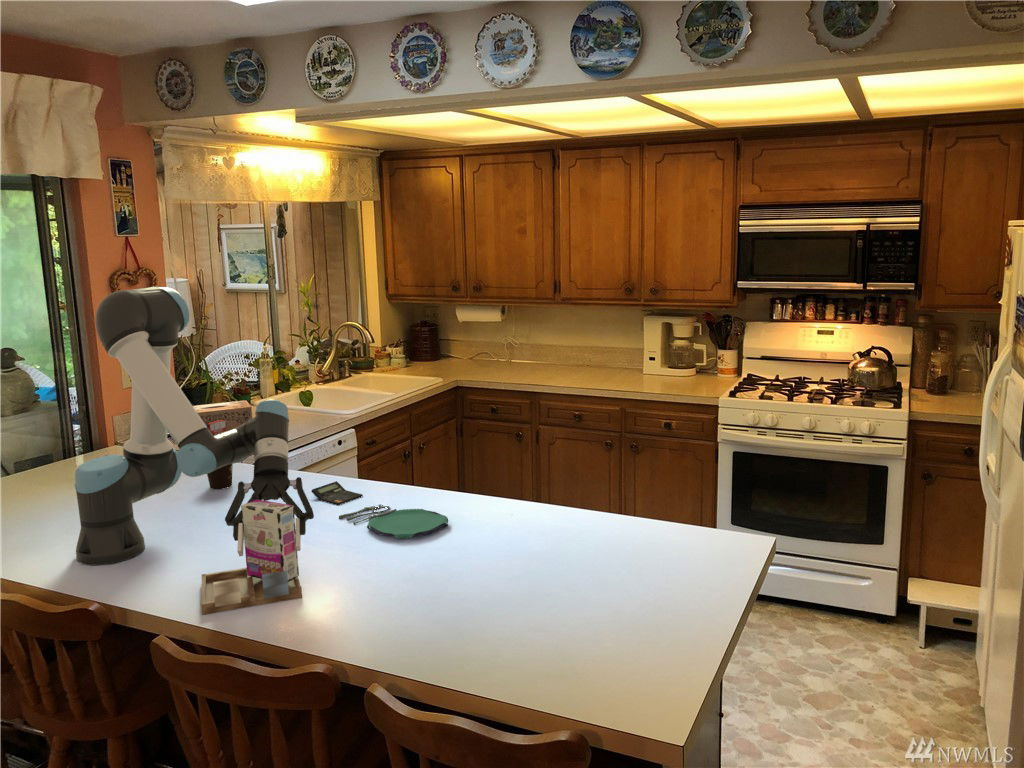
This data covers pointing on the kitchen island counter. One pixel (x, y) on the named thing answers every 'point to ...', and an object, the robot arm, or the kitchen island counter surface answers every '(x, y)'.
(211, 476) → the coffee mug
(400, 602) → the kitchen island counter surface
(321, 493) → the calculator
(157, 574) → the kitchen island counter surface
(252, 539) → the candy bar box
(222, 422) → the toy fire truck
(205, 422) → the tissue box cover
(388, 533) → the cutlery set
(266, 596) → the divided tray
